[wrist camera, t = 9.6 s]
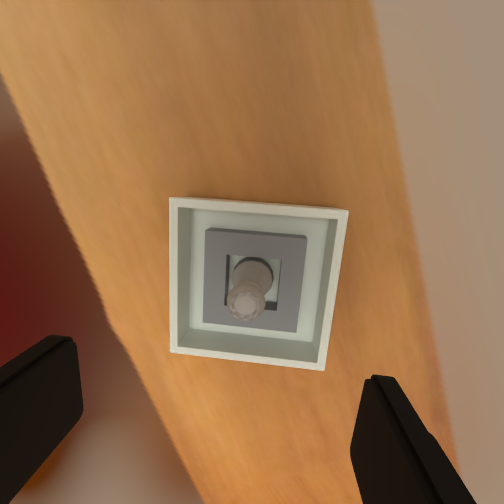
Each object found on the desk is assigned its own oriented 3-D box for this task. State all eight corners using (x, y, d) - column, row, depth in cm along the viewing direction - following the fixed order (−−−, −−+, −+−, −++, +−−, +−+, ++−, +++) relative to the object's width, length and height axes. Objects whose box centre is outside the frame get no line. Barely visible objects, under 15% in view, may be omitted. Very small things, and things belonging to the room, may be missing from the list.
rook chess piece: (282, 278, 28) (284, 311, 20) (250, 301, 29) (241, 342, 21) (255, 247, 28) (247, 269, 20) (224, 271, 29) (205, 302, 21)
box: (185, 196, 28) (168, 197, 24) (337, 207, 27) (348, 210, 22) (184, 330, 32) (169, 352, 27) (317, 345, 30) (324, 370, 26)
